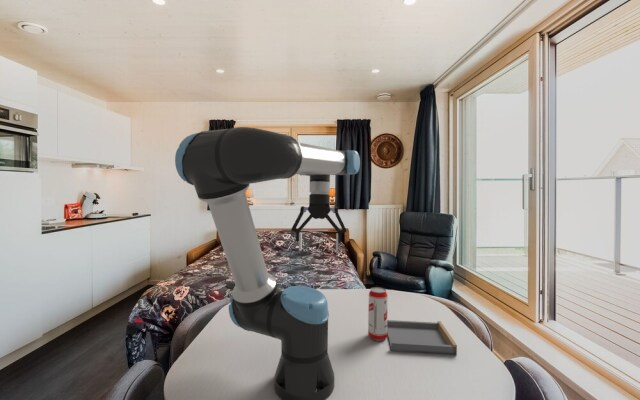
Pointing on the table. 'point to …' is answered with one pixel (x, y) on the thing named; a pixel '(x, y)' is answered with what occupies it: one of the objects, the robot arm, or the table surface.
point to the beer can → (377, 313)
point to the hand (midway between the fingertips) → (318, 251)
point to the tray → (420, 337)
